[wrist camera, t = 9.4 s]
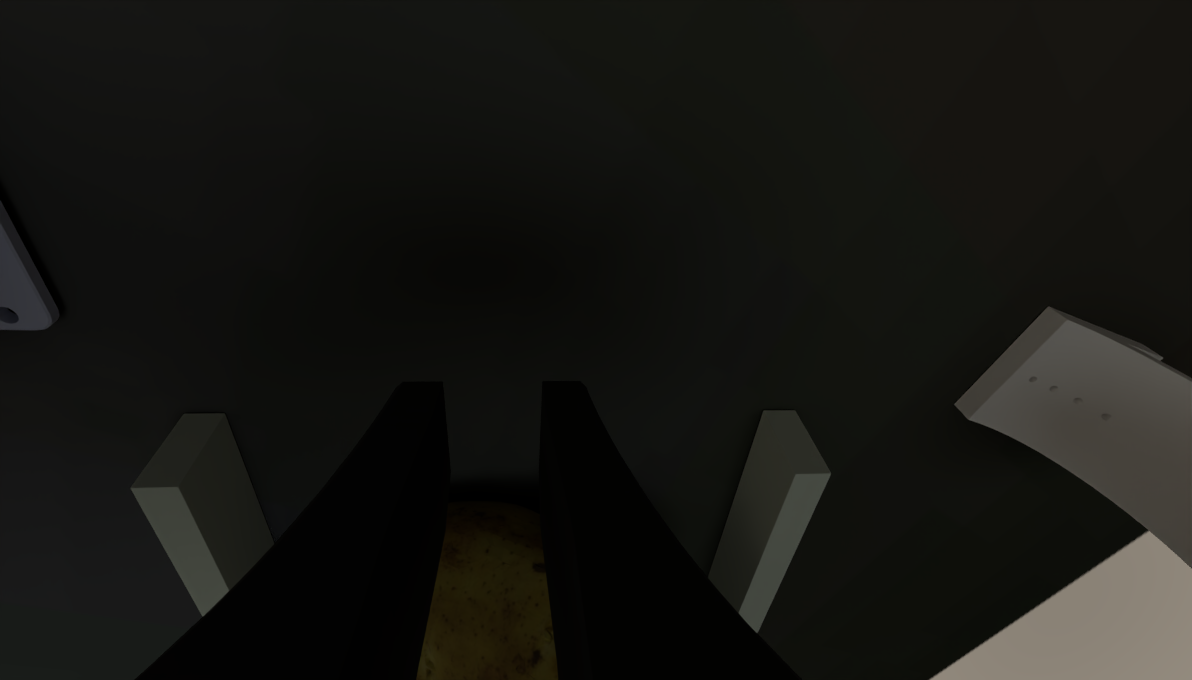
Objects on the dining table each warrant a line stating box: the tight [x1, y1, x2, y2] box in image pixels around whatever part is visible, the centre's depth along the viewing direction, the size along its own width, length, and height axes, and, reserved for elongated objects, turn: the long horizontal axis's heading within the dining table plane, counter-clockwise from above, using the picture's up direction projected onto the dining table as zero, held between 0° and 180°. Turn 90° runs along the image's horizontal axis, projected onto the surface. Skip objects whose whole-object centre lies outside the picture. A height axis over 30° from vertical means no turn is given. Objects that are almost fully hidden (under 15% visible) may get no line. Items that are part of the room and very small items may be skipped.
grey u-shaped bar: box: [131, 410, 831, 633], centre depth 22 cm, size 20×14×3 cm
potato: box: [416, 501, 558, 680], centre depth 20 cm, size 8×13×8 cm, turn 68°
